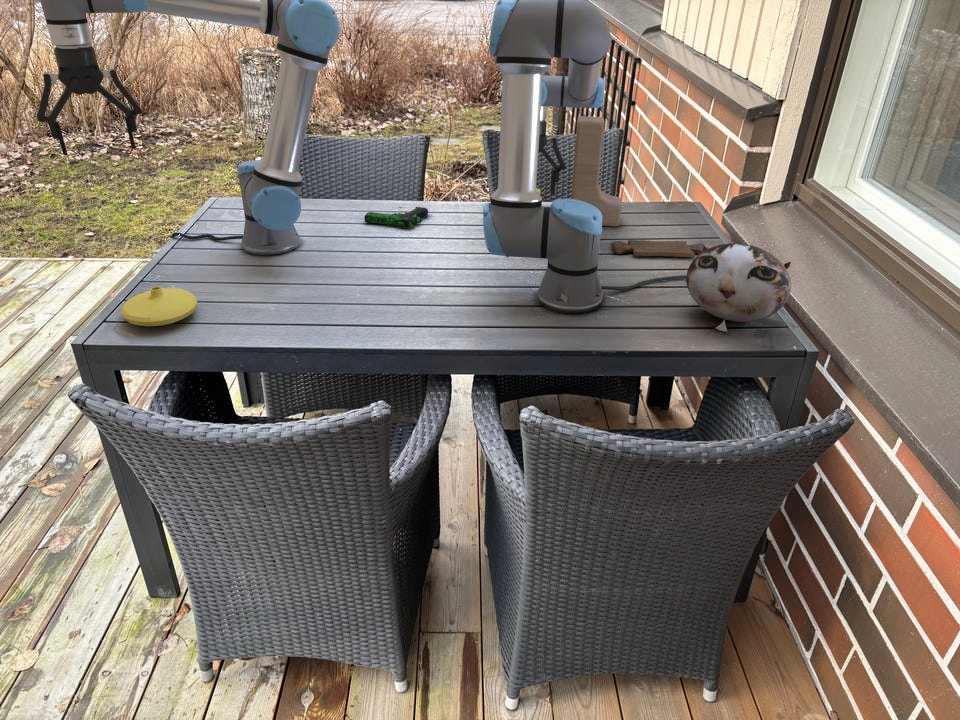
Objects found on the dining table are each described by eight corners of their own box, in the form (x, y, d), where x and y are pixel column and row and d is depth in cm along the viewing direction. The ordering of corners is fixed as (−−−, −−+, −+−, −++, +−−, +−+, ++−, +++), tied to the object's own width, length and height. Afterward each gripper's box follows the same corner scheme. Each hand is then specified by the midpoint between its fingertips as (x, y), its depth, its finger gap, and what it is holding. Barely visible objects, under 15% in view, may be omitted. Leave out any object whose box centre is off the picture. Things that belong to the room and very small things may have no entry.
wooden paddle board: (710, 260, 193) (701, 246, 201) (711, 254, 192) (702, 240, 200) (615, 256, 193) (610, 243, 202) (615, 250, 192) (611, 237, 201)
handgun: (434, 207, 218) (411, 221, 205) (434, 217, 219) (411, 231, 207) (387, 201, 223) (362, 214, 211) (387, 210, 224) (363, 224, 212)
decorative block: (619, 227, 213) (632, 123, 197) (569, 224, 214) (577, 121, 199) (618, 218, 219) (630, 117, 204) (569, 215, 221) (577, 115, 205)
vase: (172, 295, 169) (166, 268, 165) (214, 314, 161) (208, 285, 157) (109, 320, 158) (101, 291, 154) (150, 341, 150) (143, 311, 146)
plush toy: (664, 307, 155) (693, 222, 157) (679, 329, 171) (705, 252, 172) (770, 332, 145) (800, 241, 146) (775, 353, 160) (802, 271, 162)
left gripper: (2, 51, 139) (35, 161, 149) (140, 45, 149) (162, 148, 159) (3, 46, 144) (35, 152, 155) (137, 41, 154) (158, 140, 165)
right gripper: (573, 115, 205) (568, 188, 216) (487, 117, 202) (486, 190, 213) (580, 122, 199) (573, 196, 210) (491, 123, 196) (489, 198, 207)
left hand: (100, 150), depth 157 cm, fingers open, 13 cm apart
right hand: (529, 193), depth 212 cm, fingers open, 13 cm apart
